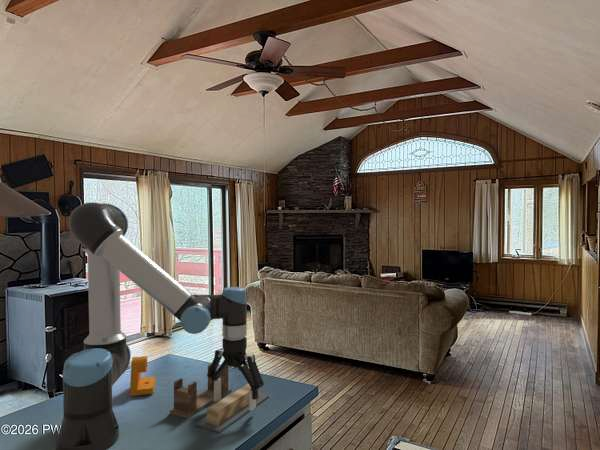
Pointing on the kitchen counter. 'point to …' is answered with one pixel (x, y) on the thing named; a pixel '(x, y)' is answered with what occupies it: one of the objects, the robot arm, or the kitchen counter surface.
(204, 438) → the kitchen counter surface
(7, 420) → the kitchen counter surface
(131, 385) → the orange hinge mount
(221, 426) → the mat
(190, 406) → the bracket
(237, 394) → the rail
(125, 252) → the robot arm
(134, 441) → the kitchen counter surface
